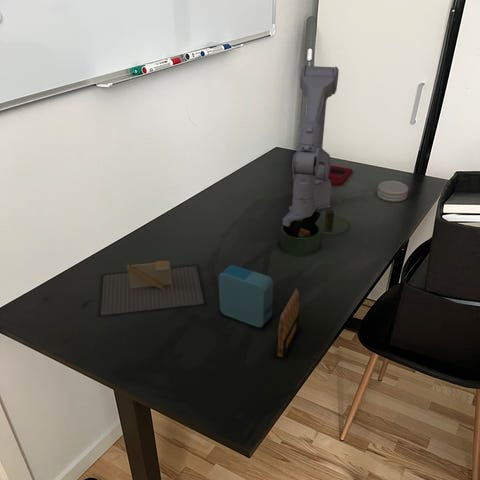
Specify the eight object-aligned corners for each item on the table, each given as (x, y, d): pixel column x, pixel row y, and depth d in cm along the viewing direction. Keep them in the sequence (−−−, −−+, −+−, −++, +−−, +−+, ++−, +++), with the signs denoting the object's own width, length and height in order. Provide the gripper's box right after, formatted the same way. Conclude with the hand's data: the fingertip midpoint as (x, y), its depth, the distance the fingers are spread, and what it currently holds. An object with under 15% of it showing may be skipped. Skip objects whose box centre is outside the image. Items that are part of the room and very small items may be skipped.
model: (172, 290, 129) (169, 265, 124) (130, 294, 128) (126, 269, 123) (172, 283, 131) (169, 258, 127) (130, 287, 130) (126, 262, 125)
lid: (336, 215, 160) (338, 200, 157) (355, 232, 151) (357, 217, 148) (302, 221, 157) (303, 206, 154) (319, 239, 148) (321, 223, 145)
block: (298, 239, 148) (299, 227, 145) (309, 243, 146) (310, 231, 143) (289, 244, 146) (290, 232, 143) (300, 249, 143) (301, 236, 141)
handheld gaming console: (314, 178, 179) (328, 164, 189) (314, 182, 180) (327, 167, 190) (340, 183, 176) (352, 168, 186) (340, 187, 176) (352, 171, 187)
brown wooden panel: (290, 327, 117) (293, 285, 109) (298, 329, 116) (302, 287, 109) (275, 356, 109) (277, 313, 102) (283, 358, 109) (286, 315, 101)
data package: (272, 319, 119) (273, 277, 112) (263, 329, 116) (264, 287, 109) (229, 303, 124) (228, 262, 117) (219, 313, 121) (217, 272, 114)
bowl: (308, 232, 151) (310, 216, 148) (325, 251, 143) (327, 234, 140) (274, 239, 149) (275, 223, 145) (289, 258, 140) (290, 241, 137)
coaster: (377, 188, 175) (379, 178, 173) (407, 191, 173) (409, 181, 171) (375, 200, 168) (377, 190, 166) (406, 203, 166) (408, 194, 164)
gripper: (307, 183, 142) (304, 225, 151) (274, 199, 134) (273, 244, 143) (328, 190, 139) (323, 233, 147) (295, 207, 130) (292, 252, 139)
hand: (300, 239), depth 145 cm, fingers open, 6 cm apart
